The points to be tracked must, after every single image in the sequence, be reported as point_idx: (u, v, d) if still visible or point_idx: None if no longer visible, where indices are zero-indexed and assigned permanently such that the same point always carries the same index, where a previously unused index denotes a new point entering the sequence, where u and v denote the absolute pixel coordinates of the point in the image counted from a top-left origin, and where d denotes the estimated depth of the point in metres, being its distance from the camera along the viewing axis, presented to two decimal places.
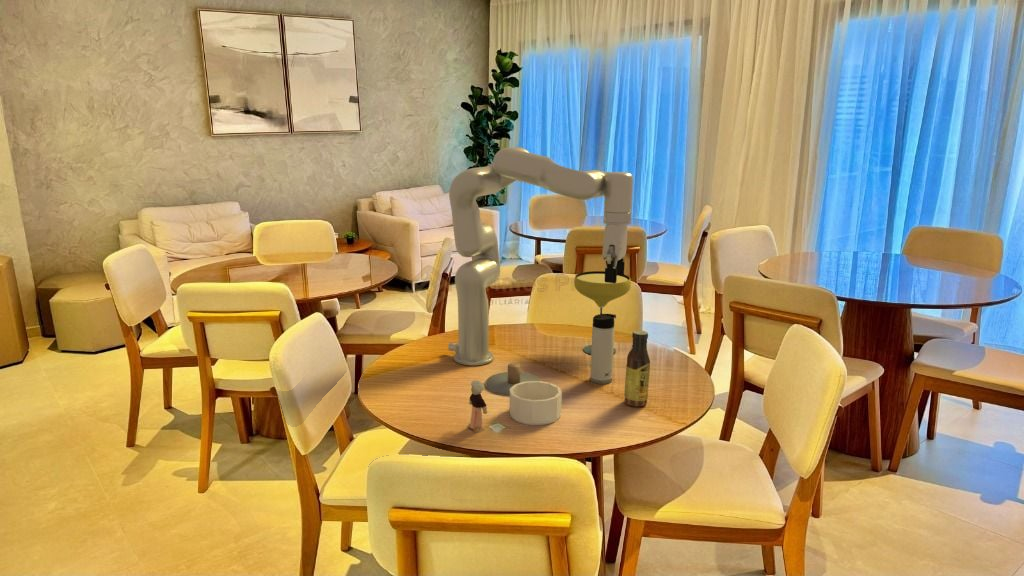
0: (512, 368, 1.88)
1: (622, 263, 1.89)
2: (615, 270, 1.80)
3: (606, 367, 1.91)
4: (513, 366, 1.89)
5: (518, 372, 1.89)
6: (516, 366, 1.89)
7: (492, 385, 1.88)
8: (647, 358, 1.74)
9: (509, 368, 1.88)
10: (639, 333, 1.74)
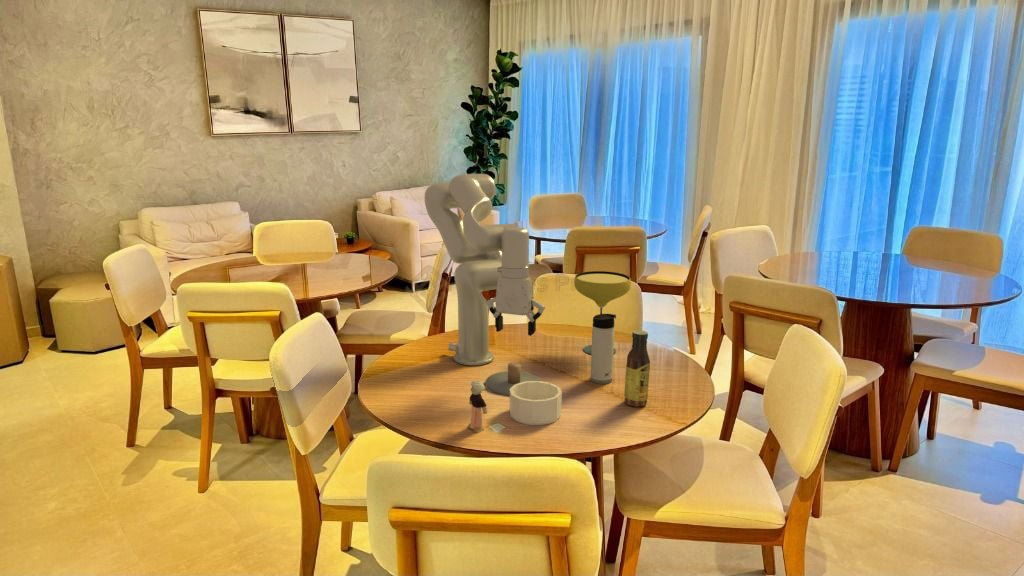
0: (512, 368, 1.88)
1: (502, 317, 1.89)
2: None
3: (606, 367, 1.91)
4: (513, 366, 1.89)
5: (518, 372, 1.89)
6: (516, 366, 1.89)
7: (492, 385, 1.88)
8: (647, 358, 1.74)
9: (509, 368, 1.88)
10: (639, 333, 1.74)
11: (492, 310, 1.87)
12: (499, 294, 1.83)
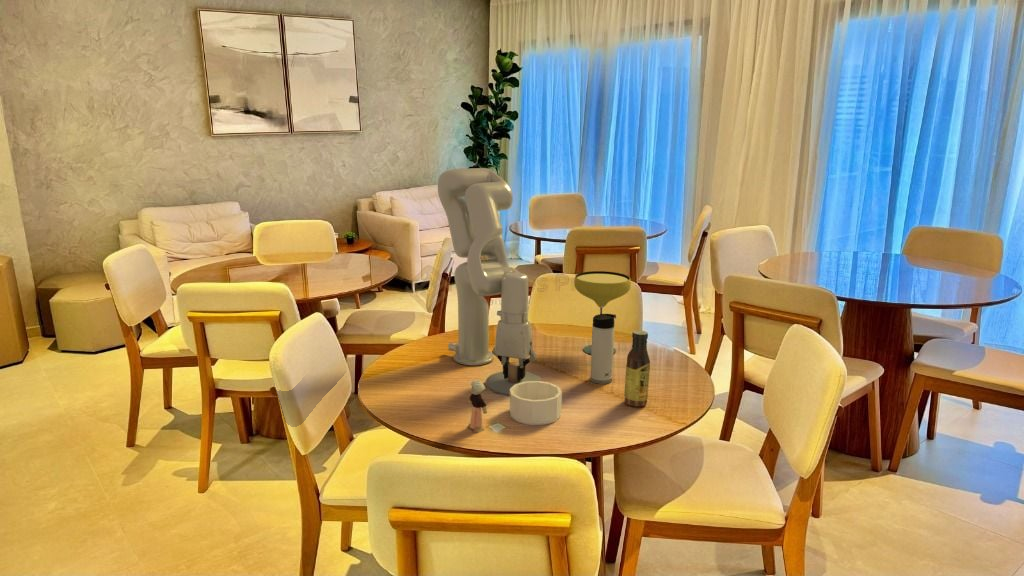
0: (513, 367, 1.88)
1: None
2: None
3: (606, 367, 1.91)
4: (513, 365, 1.89)
5: None
6: (516, 365, 1.89)
7: (494, 385, 1.87)
8: (647, 358, 1.74)
9: (510, 367, 1.88)
10: (639, 333, 1.74)
11: (500, 357, 1.90)
12: (498, 338, 1.86)
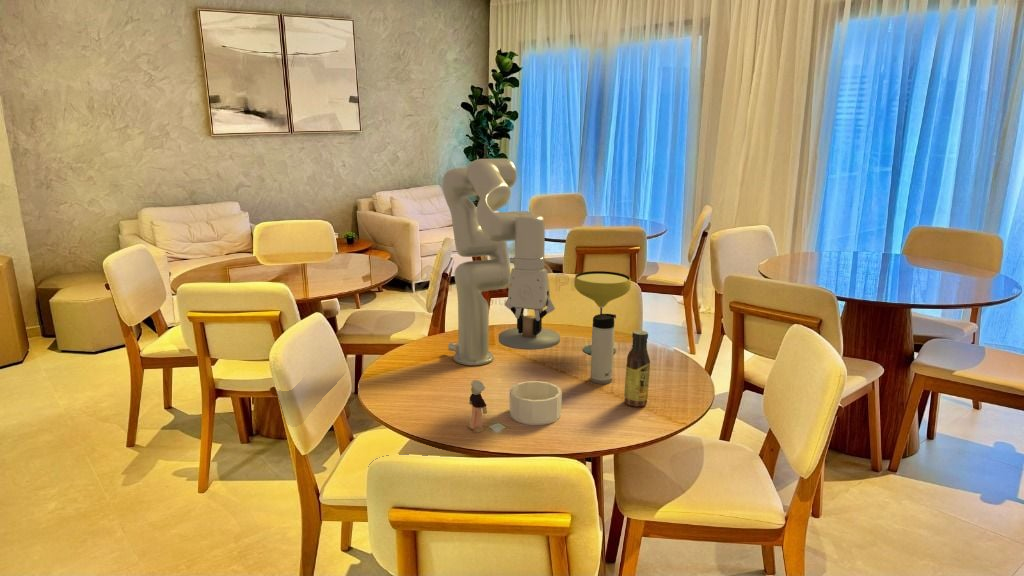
0: (528, 320, 1.71)
1: None
2: None
3: (606, 367, 1.91)
4: (529, 318, 1.71)
5: None
6: (532, 317, 1.72)
7: (507, 340, 1.70)
8: (647, 358, 1.74)
9: (525, 320, 1.71)
10: (639, 333, 1.74)
11: (514, 310, 1.73)
12: (512, 287, 1.69)
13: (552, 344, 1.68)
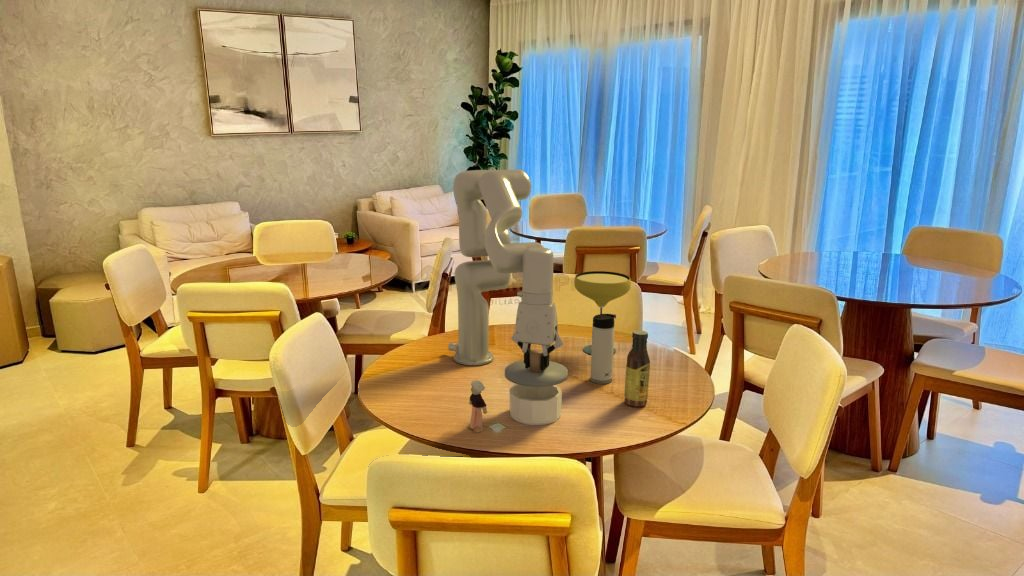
0: (535, 355, 1.66)
1: None
2: None
3: (606, 367, 1.91)
4: (536, 352, 1.67)
5: None
6: (539, 352, 1.67)
7: (514, 375, 1.65)
8: (647, 358, 1.74)
9: (532, 355, 1.66)
10: (639, 333, 1.74)
11: (521, 344, 1.68)
12: (519, 321, 1.64)
13: (560, 381, 1.63)
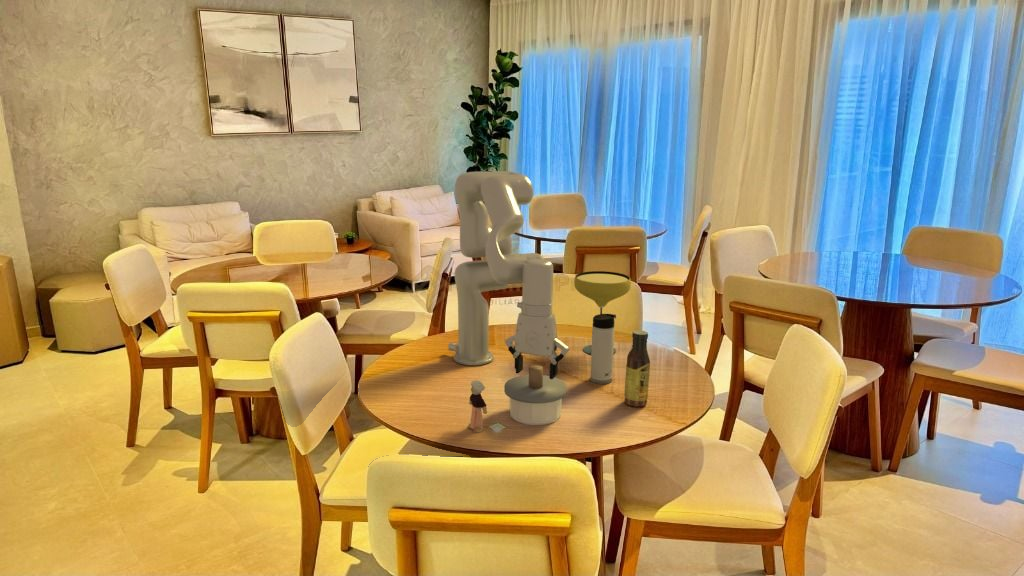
0: (535, 371, 1.67)
1: (522, 357, 1.71)
2: None
3: (606, 367, 1.91)
4: (535, 368, 1.68)
5: (541, 375, 1.68)
6: (539, 368, 1.68)
7: (513, 391, 1.66)
8: (647, 358, 1.74)
9: (531, 371, 1.67)
10: (639, 333, 1.74)
11: (511, 350, 1.69)
12: (519, 332, 1.65)
13: (559, 397, 1.65)
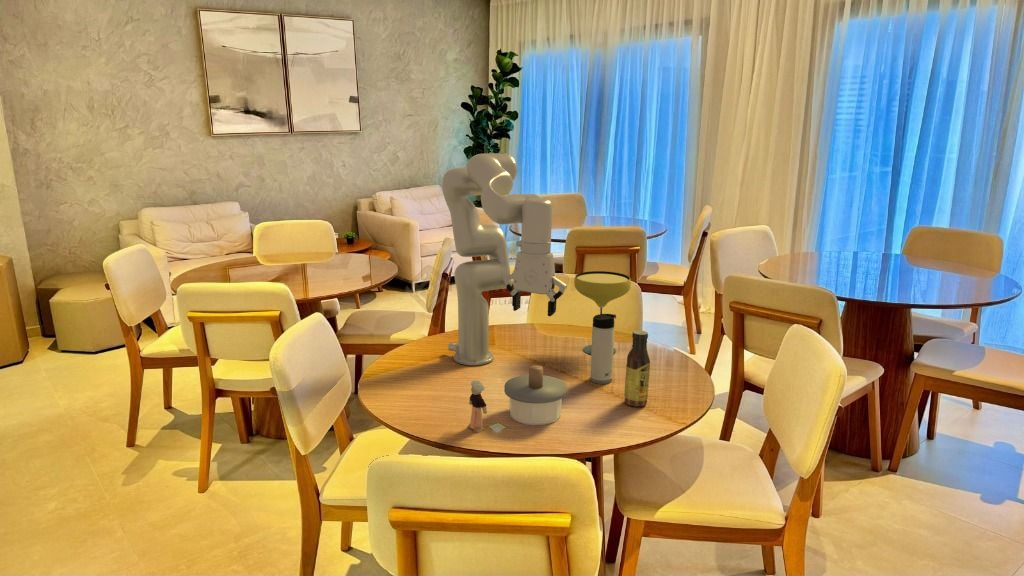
0: (535, 371, 1.67)
1: (520, 295, 1.75)
2: None
3: (606, 367, 1.91)
4: (535, 368, 1.68)
5: (541, 375, 1.68)
6: (539, 368, 1.68)
7: (513, 391, 1.66)
8: (647, 358, 1.74)
9: (531, 371, 1.67)
10: (639, 333, 1.74)
11: (509, 287, 1.73)
12: (518, 270, 1.69)
13: (559, 397, 1.65)
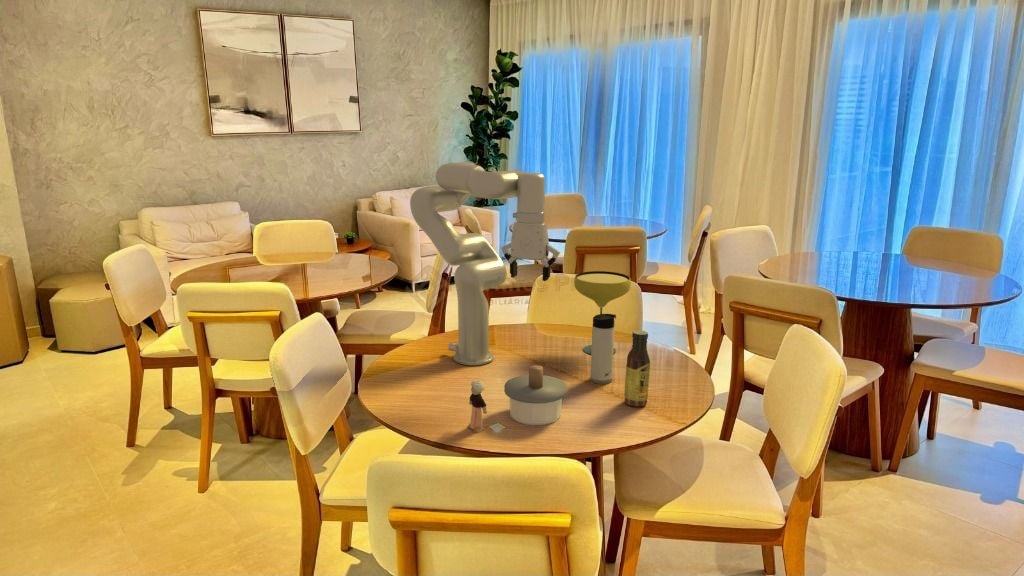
0: (535, 371, 1.67)
1: (516, 263, 1.90)
2: None
3: (606, 367, 1.91)
4: (535, 368, 1.68)
5: (541, 375, 1.68)
6: (539, 368, 1.68)
7: (513, 391, 1.66)
8: (647, 358, 1.74)
9: (531, 371, 1.67)
10: (639, 333, 1.74)
11: (507, 256, 1.89)
12: (514, 239, 1.84)
13: (559, 397, 1.65)
